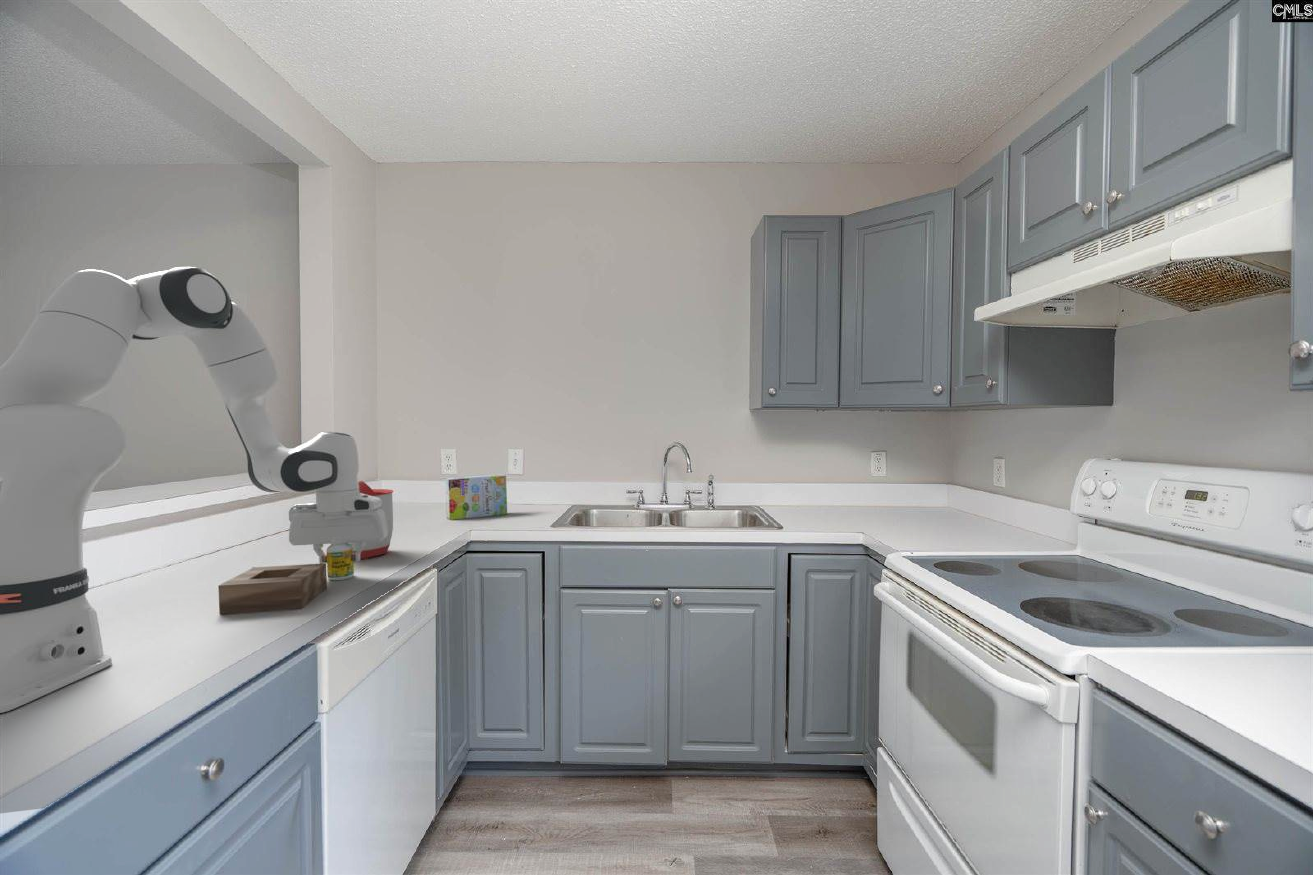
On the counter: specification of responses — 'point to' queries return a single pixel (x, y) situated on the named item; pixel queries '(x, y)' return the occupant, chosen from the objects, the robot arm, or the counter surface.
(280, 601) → the socket block
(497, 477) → the snack box
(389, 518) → the citrus juicer
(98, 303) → the robot arm
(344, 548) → the supplement bottle
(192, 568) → the counter surface
